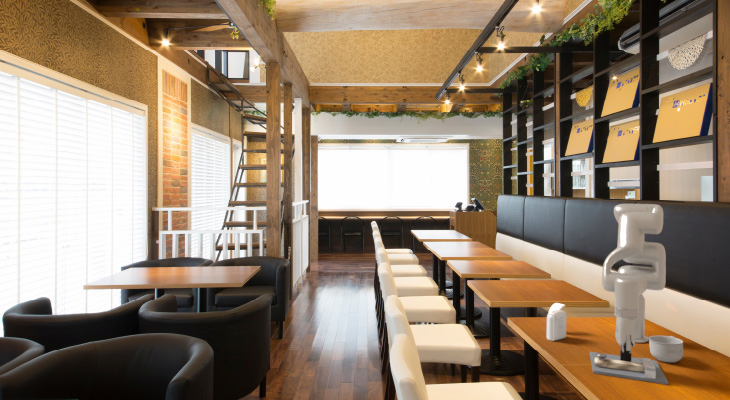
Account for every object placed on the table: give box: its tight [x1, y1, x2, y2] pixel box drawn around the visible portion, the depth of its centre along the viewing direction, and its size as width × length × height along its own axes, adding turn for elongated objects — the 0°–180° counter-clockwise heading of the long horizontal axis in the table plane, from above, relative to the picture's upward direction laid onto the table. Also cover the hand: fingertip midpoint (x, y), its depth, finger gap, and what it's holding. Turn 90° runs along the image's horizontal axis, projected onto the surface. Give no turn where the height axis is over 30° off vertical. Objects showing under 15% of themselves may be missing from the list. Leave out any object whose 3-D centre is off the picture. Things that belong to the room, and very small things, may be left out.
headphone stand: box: [548, 302, 566, 313], centre depth 201 cm, size 5×6×12 cm
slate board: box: [589, 351, 669, 386], centre depth 158 cm, size 20×22×1 cm
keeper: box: [639, 357, 656, 379], centre depth 151 cm, size 10×3×5 cm, turn 156°
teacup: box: [648, 335, 684, 363], centre depth 167 cm, size 14×11×8 cm
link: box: [595, 352, 644, 372], centre depth 155 cm, size 18×4×4 cm, turn 69°
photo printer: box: [545, 309, 567, 342], centre depth 190 cm, size 10×4×12 cm, turn 123°
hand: (625, 362), depth 157 cm, fingers closed
